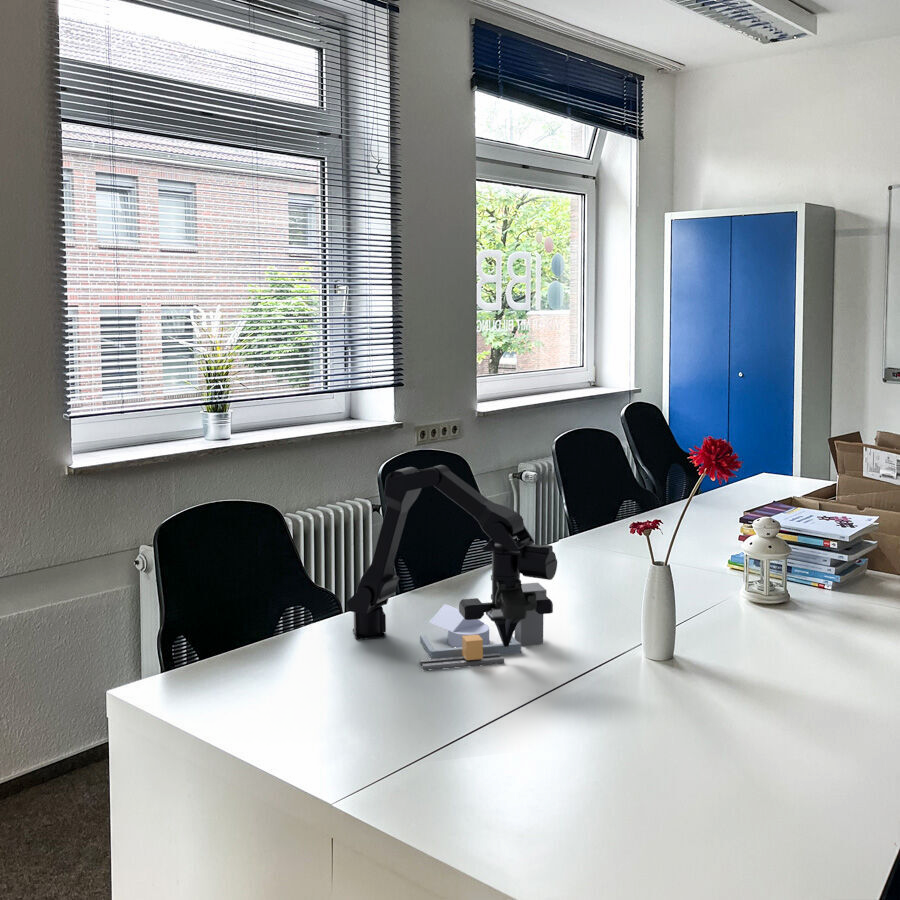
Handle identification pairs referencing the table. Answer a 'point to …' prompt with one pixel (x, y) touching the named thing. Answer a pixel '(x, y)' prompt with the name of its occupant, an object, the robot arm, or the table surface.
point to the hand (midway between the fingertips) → (505, 646)
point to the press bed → (525, 634)
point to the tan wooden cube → (472, 647)
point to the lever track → (461, 662)
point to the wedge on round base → (459, 626)
